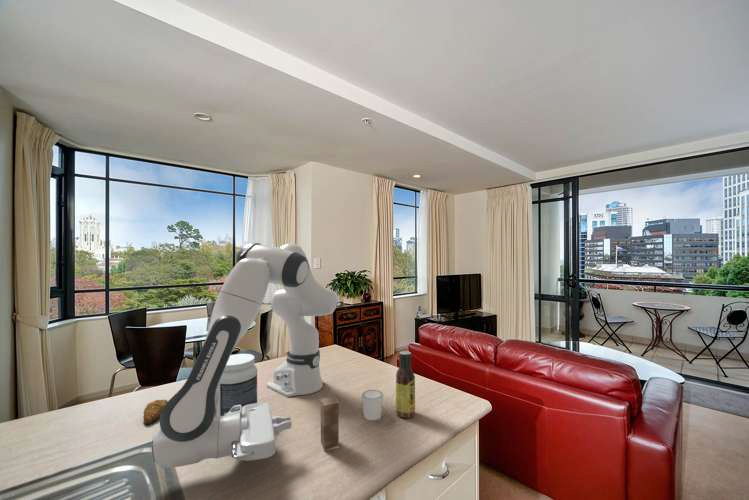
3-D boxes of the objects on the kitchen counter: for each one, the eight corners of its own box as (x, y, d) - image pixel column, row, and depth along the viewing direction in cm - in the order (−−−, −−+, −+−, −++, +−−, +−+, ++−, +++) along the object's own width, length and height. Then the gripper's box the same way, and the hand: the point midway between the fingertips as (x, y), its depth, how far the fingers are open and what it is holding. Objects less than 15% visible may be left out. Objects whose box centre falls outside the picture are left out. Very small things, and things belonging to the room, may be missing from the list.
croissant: (153, 406, 106) (153, 392, 107) (175, 404, 108) (175, 390, 108) (134, 428, 93) (134, 411, 94) (159, 424, 95) (160, 408, 95)
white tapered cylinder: (385, 412, 102) (385, 391, 102) (379, 423, 95) (379, 400, 95) (366, 408, 104) (366, 388, 104) (358, 419, 98) (358, 397, 98)
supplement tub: (265, 410, 103) (266, 355, 103) (233, 431, 91) (233, 368, 92) (238, 403, 108) (238, 350, 109) (204, 421, 97) (204, 362, 97)
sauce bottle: (414, 420, 97) (414, 356, 97) (394, 418, 98) (394, 355, 98) (415, 409, 103) (415, 350, 103) (397, 408, 104) (397, 349, 105)
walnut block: (324, 451, 82) (324, 405, 82) (320, 442, 86) (320, 399, 86) (338, 447, 83) (338, 402, 84) (334, 439, 87) (334, 396, 87)
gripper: (230, 445, 66) (296, 431, 71) (234, 402, 85) (286, 393, 90) (230, 475, 66) (296, 458, 71) (234, 425, 85) (286, 415, 90)
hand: (290, 421), depth 81 cm, fingers closed
